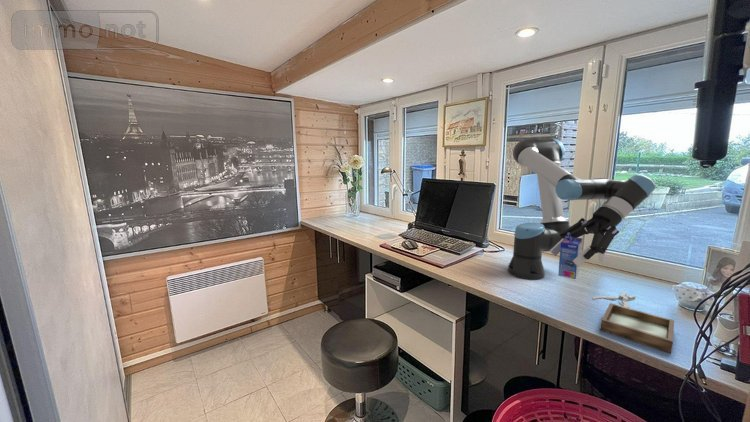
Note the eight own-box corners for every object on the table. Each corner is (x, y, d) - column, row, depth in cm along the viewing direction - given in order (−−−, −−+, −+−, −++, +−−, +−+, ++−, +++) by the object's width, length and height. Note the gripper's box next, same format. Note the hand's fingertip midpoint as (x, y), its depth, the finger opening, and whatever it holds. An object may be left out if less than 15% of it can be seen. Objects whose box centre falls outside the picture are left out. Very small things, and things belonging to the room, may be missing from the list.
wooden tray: (600, 330, 90) (601, 319, 90) (608, 312, 101) (610, 303, 100) (670, 353, 79) (673, 341, 79) (672, 330, 90) (674, 320, 89)
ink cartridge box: (561, 267, 108) (566, 229, 105) (579, 271, 104) (584, 231, 101) (556, 275, 100) (561, 234, 98) (575, 279, 97) (581, 237, 94)
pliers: (591, 295, 111) (615, 289, 116) (591, 299, 111) (615, 292, 117) (621, 307, 102) (646, 299, 108) (621, 311, 102) (645, 303, 108)
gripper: (651, 228, 89) (597, 278, 90) (590, 214, 112) (547, 254, 113) (638, 211, 88) (583, 263, 89) (579, 200, 110) (535, 242, 111)
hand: (563, 258), depth 101 cm, fingers closed on ink cartridge box, 10 cm apart
